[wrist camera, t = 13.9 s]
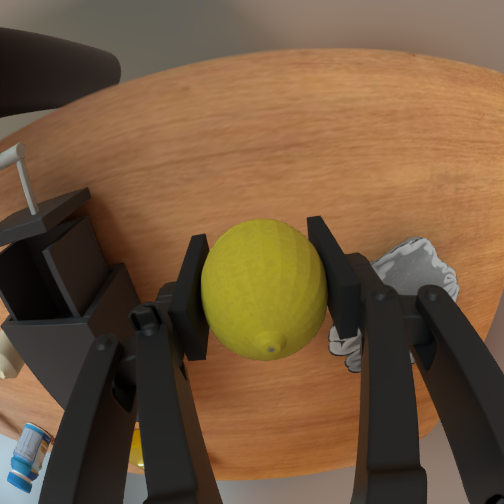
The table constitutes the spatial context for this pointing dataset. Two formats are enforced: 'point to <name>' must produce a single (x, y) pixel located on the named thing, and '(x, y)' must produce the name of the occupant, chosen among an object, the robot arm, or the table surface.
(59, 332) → the cabinet
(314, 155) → the table surface
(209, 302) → the lemon
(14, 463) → the beverage bottle
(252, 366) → the table surface
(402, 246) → the brain slice
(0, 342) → the candle
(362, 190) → the table surface
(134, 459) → the element tile
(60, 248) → the drawer
